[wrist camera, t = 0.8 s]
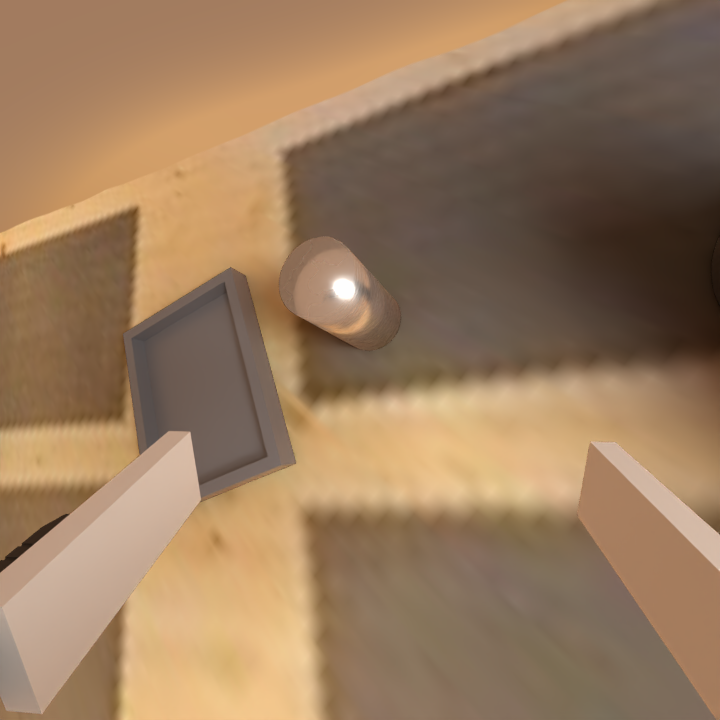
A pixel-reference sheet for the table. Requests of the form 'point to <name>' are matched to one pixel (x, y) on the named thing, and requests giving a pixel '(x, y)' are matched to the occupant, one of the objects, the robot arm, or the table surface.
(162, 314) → the slate tray
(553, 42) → the table surface
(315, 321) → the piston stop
